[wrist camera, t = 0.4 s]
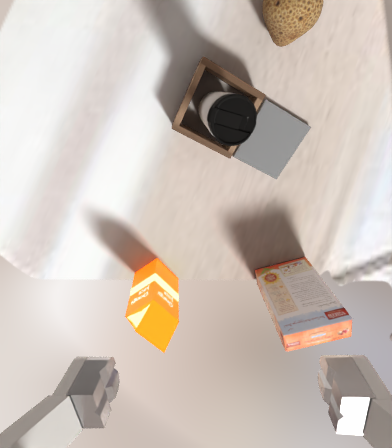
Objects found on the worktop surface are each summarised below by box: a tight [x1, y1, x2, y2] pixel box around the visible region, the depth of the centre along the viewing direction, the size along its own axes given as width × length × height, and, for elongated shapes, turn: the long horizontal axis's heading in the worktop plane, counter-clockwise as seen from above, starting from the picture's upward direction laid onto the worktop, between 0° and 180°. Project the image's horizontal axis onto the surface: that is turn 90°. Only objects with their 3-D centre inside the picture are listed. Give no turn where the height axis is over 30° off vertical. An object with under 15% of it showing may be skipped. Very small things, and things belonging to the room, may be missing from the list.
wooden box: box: [172, 56, 265, 158], centre depth 47 cm, size 12×12×6 cm
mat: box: [233, 99, 311, 179], centre depth 52 cm, size 12×11×1 cm
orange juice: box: [125, 258, 179, 352], centre depth 59 cm, size 8×9×20 cm
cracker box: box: [255, 257, 352, 352], centre depth 60 cm, size 14×6×21 cm, turn 105°
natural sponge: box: [263, 0, 323, 47], centre depth 39 cm, size 9×9×10 cm
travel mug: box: [198, 92, 257, 146], centre depth 40 cm, size 6×7×20 cm
